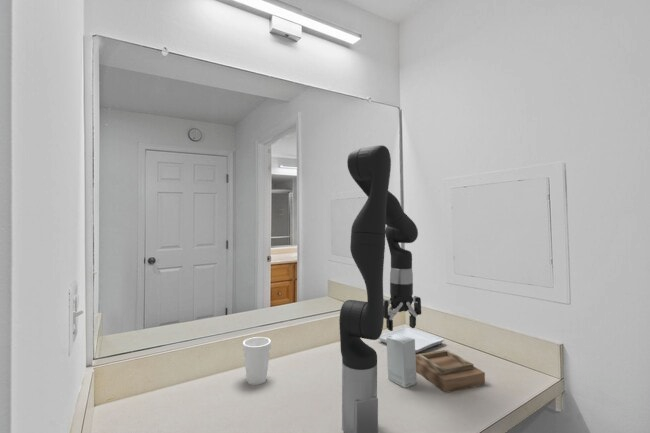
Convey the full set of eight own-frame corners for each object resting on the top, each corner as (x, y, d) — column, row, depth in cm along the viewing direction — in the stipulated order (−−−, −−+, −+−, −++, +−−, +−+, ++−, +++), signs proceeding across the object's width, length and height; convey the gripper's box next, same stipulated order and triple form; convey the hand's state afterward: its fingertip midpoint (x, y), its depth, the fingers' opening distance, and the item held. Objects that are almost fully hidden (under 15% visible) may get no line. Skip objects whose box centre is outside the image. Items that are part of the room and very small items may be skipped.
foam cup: (242, 388, 109) (243, 348, 109) (242, 375, 118) (242, 338, 118) (272, 384, 112) (272, 345, 112) (269, 372, 120) (269, 335, 120)
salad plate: (405, 332, 163) (405, 325, 163) (445, 345, 146) (445, 338, 146) (375, 343, 149) (375, 335, 149) (416, 359, 133) (416, 350, 133)
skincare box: (417, 384, 112) (417, 339, 112) (404, 389, 109) (404, 343, 109) (398, 374, 119) (398, 332, 119) (386, 378, 116) (386, 335, 116)
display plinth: (484, 384, 112) (484, 368, 112) (444, 392, 106) (445, 375, 106) (444, 360, 131) (444, 346, 131) (409, 366, 125) (409, 351, 125)
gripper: (388, 284, 108) (388, 335, 108) (425, 281, 113) (425, 330, 113) (377, 280, 115) (377, 327, 115) (413, 277, 120) (413, 323, 120)
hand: (401, 328), depth 114 cm, fingers open, 8 cm apart
